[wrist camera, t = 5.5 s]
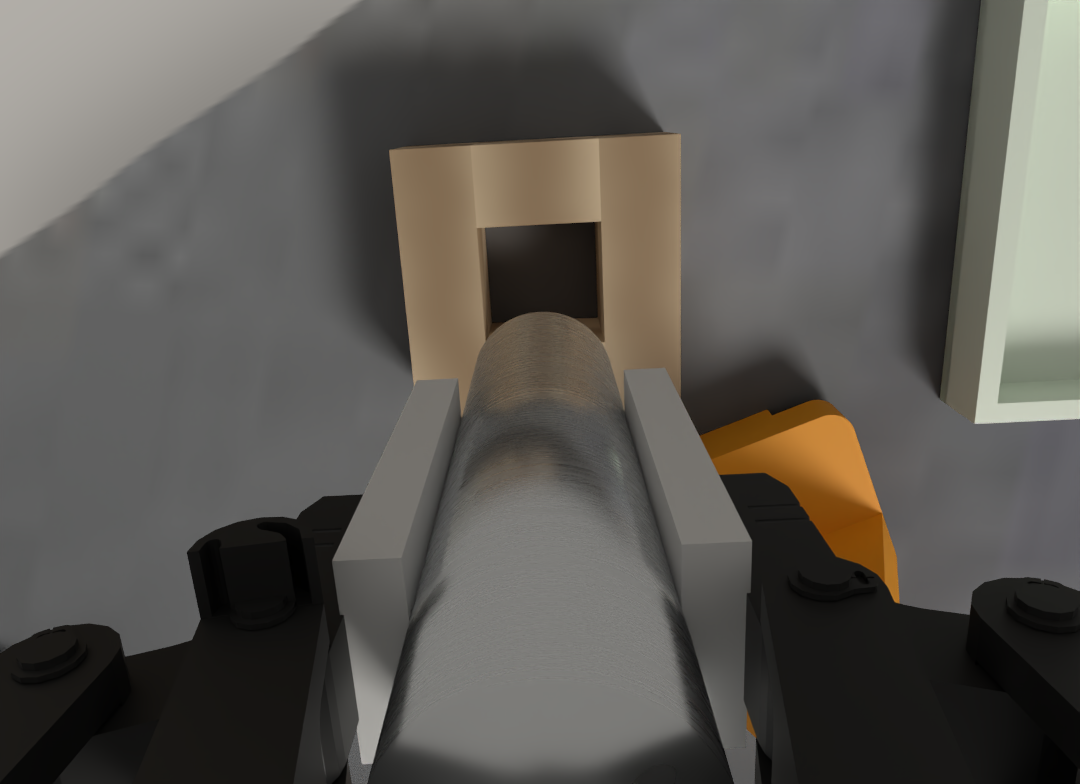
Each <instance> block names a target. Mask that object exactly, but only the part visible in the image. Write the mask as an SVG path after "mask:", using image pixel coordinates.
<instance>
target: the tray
mask: <svg viewBox="0 0 1080 784" xmlns="http://www.w3.org/2000/svg"><path fill="white" fill-rule="evenodd" d="M940 400H941V401H943V402H944V403H946V404H947V405H948V406H950V407H951V408H953V409H954V410H956V411H957V412H958V413H960V414H961V415H963V416H964V417H966V418H967V419H968V420H970V421H971V422H973V423H974V424H982V423H1003V422H1023V421H1044V420H1064V419H1080V0H981V5H980V15H979V25H978V34H977V44H976V54H975V63H974V73H973V83H972V92H971V102H970V112H969V121H968V131H967V141H966V151H965V160H964V170H963V180H962V189H961V199H960V209H959V218H958V228H957V238H956V247H955V257H954V267H953V276H952V286H951V296H950V305H949V315H948V325H947V334H946V344H945V354H944V363H943V373H942V383H941V393H940Z"/></svg>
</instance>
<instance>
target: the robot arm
mask: <svg viewBox="0 0 1080 784" xmlns="http://www.w3.org/2000/svg"><path fill="white" fill-rule="evenodd" d="M624 408H625V416H626V419H627V422H628V426H629V429H630V433H631V436H632V440H633V443H634V447H635V450H636V453H637V457H638V460H639V464H640V467H641V471H642V474H643V478H644V481H645V484H646V488H647V491H648V495H649V498H650V502H651V505H652V509H653V512H654V515H655V519H656V522H657V526H658V529H659V533H660V536H661V540H662V543H663V546H664V550H665V553H666V557H667V560H668V564H669V567H670V571H671V574H672V577H673V581H674V584H675V588H676V591H677V595H678V598H679V601H680V605H681V608H682V611H683V614H684V616H685V619H686V622H687V625H688V629H689V632H690V635H691V639H692V642H693V646H694V649H695V652H696V656H697V659H698V663H699V666H700V669H701V673H702V676H703V680H704V683H705V686H706V690H707V693H708V697H709V700H710V703H711V707H712V710H713V714H714V717H715V721H716V724H717V727H718V731H719V734H720V738H721V741H722V744H723V748H724V749H726V748H746V728H747V711H748V714H749V717H750V720H751V723H752V726H753V728H754V731H755V734H756V761H755V784H1080V591H1077V590H1074V589H1072V588H1069V587H1066V586H1063V585H1062V584H1060V583H1058V582H1054V581H1049V580H1045V579H1044V581H1041V579H1038V578H1030V577H1025V578H1002V579H997V580H993V581H989V582H984V583H983V584H982V585H980V586H979V587H978V588H977V589H975V590H974V591H973V594H972V602H971V610H970V615H966V614H959V613H951V612H944V611H937V610H929V609H922V608H917V607H912V606H907V605H903V604H899V603H896V602H894V600H893V598H892V595H891V593H890V591H889V589H888V587H887V585H886V584H885V583H884V582H883V581H882V579H881V578H880V577H879V576H878V574H876V573H874V572H873V571H871V570H869V569H867V568H866V567H864V566H862V565H861V564H858V563H855V562H852V561H848V560H845V559H842V558H839V557H836V556H835V554H834V553H833V551H832V550H831V548H830V547H829V545H828V544H827V543H826V541H825V540H824V538H823V537H822V535H821V534H820V532H819V531H818V529H817V528H816V526H815V525H814V523H813V522H812V521H810V518H809V516H808V514H807V513H806V511H805V510H804V508H803V507H800V503H799V501H798V500H797V498H796V497H795V495H794V494H793V492H792V491H791V489H790V488H789V486H787V485H785V484H784V483H782V482H780V481H778V480H777V479H775V478H773V477H772V476H770V475H768V474H766V473H747V474H726V475H719V474H718V472H717V470H716V468H715V466H714V464H713V462H712V460H711V458H710V456H709V454H708V452H707V450H706V448H705V446H704V444H703V442H702V440H701V438H700V436H699V434H698V432H697V430H696V428H695V426H694V424H693V422H692V420H691V418H690V416H689V414H688V412H687V410H686V408H685V406H684V404H683V402H682V401H681V399H680V397H679V395H678V393H677V391H676V389H675V387H674V385H673V383H672V381H671V379H670V377H669V375H668V373H667V371H666V369H665V368H651V369H631V370H624ZM461 419H462V418H461V406H460V395H459V383H458V378H453V379H434V380H417V381H416V383H415V386H414V388H413V390H412V392H411V394H410V396H409V398H408V400H407V403H406V405H405V407H404V409H403V411H402V413H401V415H400V417H399V420H398V422H397V424H396V426H395V428H394V430H393V432H392V434H391V437H390V439H389V441H388V443H387V445H386V447H385V449H384V451H383V454H382V456H381V458H380V460H379V462H378V464H377V466H376V469H375V471H374V473H373V475H372V477H371V479H370V481H369V483H368V486H367V488H366V490H365V492H364V494H363V495H344V496H324V497H322V498H321V499H319V500H318V501H317V502H315V503H314V504H312V505H311V506H309V507H308V508H307V509H305V510H304V511H302V512H301V513H300V515H299V516H298V518H297V520H296V519H291V518H286V517H263V518H256V519H251V520H246V521H240V522H236V523H233V524H231V525H228V526H225V527H222V528H220V529H217V530H214V531H213V532H211V533H209V534H208V535H206V536H204V537H203V538H201V539H199V540H198V541H197V542H196V543H195V544H194V545H193V546H192V547H191V548H190V549H189V550H188V552H187V555H188V560H189V565H190V570H191V575H192V579H193V584H194V589H195V594H196V599H197V603H198V608H199V613H200V618H201V620H200V622H199V625H198V627H197V630H196V632H195V635H194V637H193V639H192V640H191V641H188V642H184V643H181V644H178V645H174V646H171V647H166V648H162V649H158V650H153V651H149V652H145V653H140V654H136V655H132V656H127V657H125V655H124V651H123V647H122V643H121V639H120V635H119V634H118V633H117V632H116V631H114V630H113V629H111V628H110V627H108V626H103V625H96V624H80V625H71V626H70V625H64V626H59V627H54V628H53V630H50V629H47V630H44V631H41V632H38V633H36V634H34V635H33V636H32V637H30V638H28V639H25V640H23V641H21V642H19V643H17V644H15V645H12V646H11V647H9V648H8V649H7V650H5V651H4V652H2V653H1V654H0V784H352V783H351V776H350V770H349V763H348V755H349V752H350V749H351V745H352V742H353V739H354V735H355V732H356V729H357V734H358V741H359V747H360V754H361V761H362V764H373V760H374V756H375V752H376V749H377V745H378V741H379V737H380V733H381V729H382V725H383V721H384V718H385V714H386V710H387V706H388V702H389V698H390V694H391V690H392V686H393V683H394V679H395V675H396V671H397V667H398V663H399V659H400V655H401V652H402V648H403V644H404V640H405V636H406V632H407V629H408V625H409V621H410V617H411V613H412V609H413V605H414V602H415V598H416V594H417V590H418V586H419V582H420V578H421V574H422V571H423V567H424V563H425V559H426V555H427V551H428V547H429V543H430V540H431V536H432V532H433V528H434V524H435V520H436V516H437V512H438V509H439V505H440V501H441V497H442V493H443V489H444V485H445V481H446V477H447V474H448V470H449V466H450V462H451V458H452V454H453V450H454V446H455V443H456V439H457V435H458V431H459V427H460V423H461Z"/></svg>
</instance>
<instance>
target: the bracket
mask: <svg viewBox="0 0 1080 784" xmlns="http://www.w3.org/2000/svg"><path fill="white" fill-rule="evenodd" d="M700 438H701V440H702V442H703V444H704V446H705V448H706V450H707V452H708V454H709V456H710V458H711V460H712V462H713V464H714V466H715V468H716V470H717V472H718V474H719V475H726V474H747V473H766V474H768V475H770V476H772V477H773V478H775V479H777V480H778V481H780V482H782V483H784V484H785V485H787V486H789V488H790V489H791V491H792V492H793V494H794V495H795V497H796V498H797V500H798V501H799V503H800V507H803V508H804V510H805V511H806V513H807V514H808V516H809V518H810V521H812V522H813V523H814V525H815V526H816V528H817V529H818V531H819V532H820V534H821V535H822V537H823V538H824V540H825V541H826V543H827V544H828V545H829V547H830V548H831V550H832V551H833V553H834V554H835V556H836V557H839V558H842V559H845V560H848V561H852V562H855V563H858V564H861V565H862V566H864V567H866V568H867V569H869V570H871V571H873V572H874V573H876V574H878V576H879V577H880V578H881V579H882V581H883V582H884V583H885V584H886V585H887V587H888V589H889V591H890V593H891V595H892V598H893V600H894V602H896V603H899V589H898V572H897V556H896V553H895V550H894V547H893V544H892V541H891V538H890V535H889V532H888V529H887V526H886V523H885V520H884V517H883V514H882V511H881V508H880V505H879V502H878V499H877V496H876V493H875V490H874V487H873V484H872V481H871V478H870V475H869V472H868V469H867V466H866V463H865V460H864V457H863V454H862V451H861V448H860V445H859V442H858V439H857V436H856V433H855V430H854V428H853V426H852V424H851V423H850V422H849V421H848V420H847V419H846V418H845V417H844V416H843V415H842V414H841V413H840V412H839V411H838V410H837V409H836V408H835V407H834V406H833V405H832V404H830V403H829V402H826V401H823V400H811V401H808V402H805V403H803V404H800V405H798V406H795V407H792V408H790V409H787V410H785V411H782V412H780V413H777V414H775V415H771V413H770V412H769V411H768V409H767V410H764V411H762V412H759V413H757V414H754V415H752V416H749V417H746V418H744V419H741V420H739V421H736V422H734V423H731V424H729V425H726V426H723V427H721V428H718V429H716V430H713V431H711V432H708V433H706V434H703V435H700ZM746 729H747V730H748V731H749V732H750V733H751V734H752V735H753V736H755V737H756V734H755V731H754V728H753V726H752V723H751V720H750V717H749V714H748V711H747V728H746Z"/></svg>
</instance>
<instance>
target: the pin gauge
mask: <svg viewBox="0 0 1080 784" xmlns="http://www.w3.org/2000/svg"><path fill="white" fill-rule="evenodd" d="M367 784H734V782H733V778H732V775H731V772H730V768H729V765H728V761H727V758H726V755H725V751H724V748H723V744H722V741H721V738H720V734H719V731H718V727H717V724H716V721H715V717H714V714H713V710H712V707H711V703H710V700H709V697H708V693H707V690H706V686H705V683H704V680H703V676H702V673H701V669H700V666H699V663H698V659H697V656H696V652H695V649H694V646H693V642H692V639H691V635H690V632H689V629H688V625H687V622H686V619H685V616H684V614H683V611H682V608H681V605H680V601H679V598H678V595H677V591H676V588H675V584H674V581H673V577H672V574H671V571H670V567H669V564H668V560H667V557H666V553H665V550H664V546H663V543H662V540H661V536H660V533H659V529H658V526H657V522H656V519H655V515H654V512H653V509H652V505H651V502H650V498H649V495H648V491H647V488H646V484H645V481H644V478H643V474H642V471H641V467H640V464H639V460H638V457H637V453H636V450H635V447H634V443H633V440H632V436H631V433H630V429H629V426H628V422H627V419H626V416H625V410H624V407H623V404H622V400H621V397H620V393H619V390H618V387H617V383H616V380H615V376H614V373H613V370H612V366H611V363H610V359H609V357H608V354H607V351H606V349H605V348H604V346H603V344H602V342H601V341H600V340H599V338H598V337H597V336H596V335H595V334H594V333H593V332H592V331H591V330H590V329H589V328H588V327H587V326H585V325H584V324H583V323H581V322H579V321H578V320H576V319H574V318H571V317H569V316H567V315H563V314H559V313H554V312H533V313H527V314H523V315H520V316H518V317H515V318H513V319H511V320H509V321H507V322H505V323H504V324H502V325H501V326H500V327H498V328H497V329H496V330H495V331H494V332H493V333H492V334H491V335H490V336H489V338H488V339H487V340H486V341H485V343H484V345H483V346H482V348H481V350H480V352H479V355H478V357H477V361H476V365H475V369H474V372H473V376H472V380H471V384H470V388H469V392H468V396H467V400H466V403H465V407H464V411H463V415H462V419H461V423H460V427H459V431H458V435H457V439H456V443H455V446H454V450H453V454H452V458H451V462H450V466H449V470H448V474H447V477H446V481H445V485H444V489H443V493H442V497H441V501H440V505H439V509H438V512H437V516H436V520H435V524H434V528H433V532H432V536H431V540H430V543H429V547H428V551H427V555H426V559H425V563H424V567H423V571H422V574H421V578H420V582H419V586H418V590H417V594H416V598H415V602H414V605H413V609H412V613H411V617H410V621H409V625H408V629H407V632H406V636H405V640H404V644H403V648H402V652H401V655H400V659H399V663H398V667H397V671H396V675H395V679H394V683H393V686H392V690H391V694H390V698H389V702H388V706H387V710H386V714H385V718H384V721H383V725H382V729H381V733H380V737H379V741H378V745H377V749H376V752H375V756H374V760H373V764H372V768H371V772H370V776H369V780H368V783H367Z"/></svg>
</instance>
